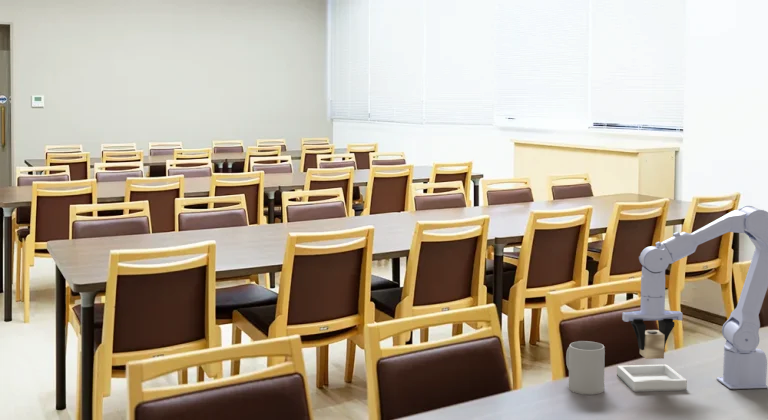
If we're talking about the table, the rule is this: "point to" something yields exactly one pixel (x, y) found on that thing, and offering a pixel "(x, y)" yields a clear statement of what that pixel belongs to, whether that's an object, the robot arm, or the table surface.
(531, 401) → the table surface
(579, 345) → the mug
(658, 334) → the bore block
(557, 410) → the table surface
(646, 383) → the tray
